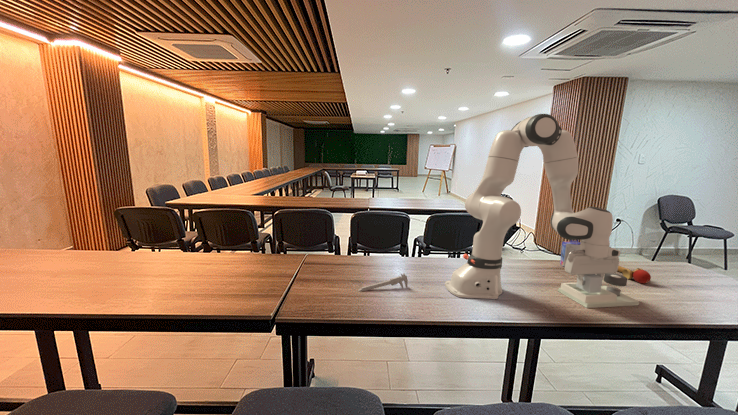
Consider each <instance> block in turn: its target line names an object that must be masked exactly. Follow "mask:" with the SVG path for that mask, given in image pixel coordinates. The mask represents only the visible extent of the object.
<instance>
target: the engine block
mask: <svg viewBox="0 0 738 415" xmlns="http://www.w3.org/2000/svg"><path fill="white" fill-rule="evenodd" d="M583 280H585V285H580V284H578V278H577V277H576V282H577V284H576V287H578V288H580V289H582V290H584V291H586V292H588V293H599V292H601V286H603V281H604V277H601V276H598V275H597V274H585V275H584V277H583Z"/></svg>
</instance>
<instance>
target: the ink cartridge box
mask: <svg viewBox="0 0 738 415" xmlns="http://www.w3.org/2000/svg"><path fill="white" fill-rule="evenodd" d="M579 241H580V240H569V241H562V243H561V249H560V250H561V252H560V260H559V265H561V266H562V267H564V268H565V264H566V261H567V258H568V255H569V253H570V252H572V251H573V250H580V244H581V241H580V242H579Z"/></svg>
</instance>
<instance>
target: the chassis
mask: <svg viewBox="0 0 738 415" xmlns="http://www.w3.org/2000/svg"><path fill="white" fill-rule="evenodd" d="M576 284H577V281H576V282H561V283H560V287H558V290H557V292H558V293H561V294H562V295H564V296H566V297H567V298H569V299H570V300H573V301H574V302H576V303H577V304H580V305H581V306H583V307H585V309H590V308H591V309H593V308H613V307H614V308H615V307H631V306H639V305H640V300H637V299H635V298H633V297H631V296H628V294H627V295H626V294H624V293H622V292H621V291H622V290H621V288H618V287H615V286H607V285H602V286H601V292H599V293H588V292H586V291H584V290H582V289H580V288H578V287H576Z"/></svg>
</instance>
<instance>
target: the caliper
mask: <svg viewBox="0 0 738 415" xmlns="http://www.w3.org/2000/svg"><path fill="white" fill-rule="evenodd" d="M408 280H409V279H408V276H407V274H406V273H405V272H403V274H402V273H400V275H399V276H396V277H392V278H389V280H385V281H384V280H383V281H380V282H378V283H374V284H370V285H366V286H362V287H361V288H359V289H358V292H365V291H369V290H373V289H377V288H382V287H385V286H388V285H391V286H396V285H397V284H399V285H400V287H401V288H403V289H404V285H405V288H407V287H408V282H409V281H408ZM403 282H404V283H403ZM403 284H404V285H403Z"/></svg>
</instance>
